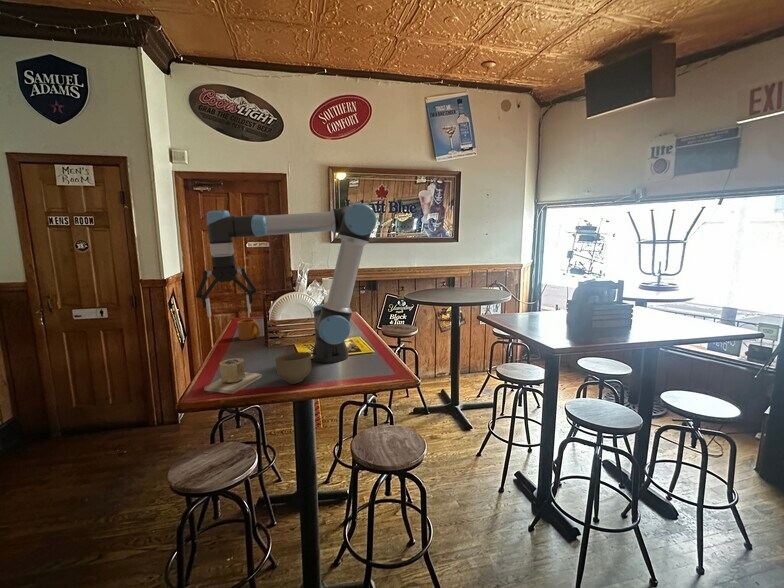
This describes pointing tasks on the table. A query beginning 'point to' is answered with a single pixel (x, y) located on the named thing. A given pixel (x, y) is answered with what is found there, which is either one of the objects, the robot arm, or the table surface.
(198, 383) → the table surface
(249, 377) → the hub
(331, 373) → the table surface
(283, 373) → the bowl
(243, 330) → the mug
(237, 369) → the collar
